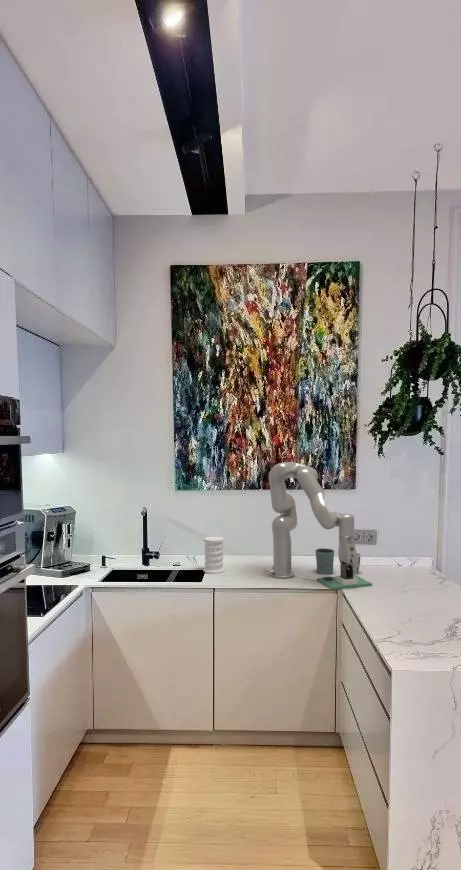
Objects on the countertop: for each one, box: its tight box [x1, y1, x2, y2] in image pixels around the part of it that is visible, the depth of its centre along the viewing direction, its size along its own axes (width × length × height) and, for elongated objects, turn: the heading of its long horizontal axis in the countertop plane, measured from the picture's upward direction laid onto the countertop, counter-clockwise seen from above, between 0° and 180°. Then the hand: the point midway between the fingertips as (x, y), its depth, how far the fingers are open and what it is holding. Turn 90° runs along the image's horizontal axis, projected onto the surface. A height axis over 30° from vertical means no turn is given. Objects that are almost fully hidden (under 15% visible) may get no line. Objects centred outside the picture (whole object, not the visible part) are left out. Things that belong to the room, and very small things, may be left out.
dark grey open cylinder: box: [315, 547, 335, 576], centre depth 258 cm, size 10×10×12 cm
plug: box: [339, 563, 353, 580], centre depth 236 cm, size 5×4×7 cm
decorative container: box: [202, 535, 226, 575], centre depth 261 cm, size 12×12×18 cm
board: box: [316, 574, 373, 591], centre depth 239 cm, size 22×16×4 cm
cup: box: [350, 552, 361, 575], centre depth 257 cm, size 8×8×10 cm
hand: (346, 575), depth 236 cm, fingers closed on plug, 4 cm apart
